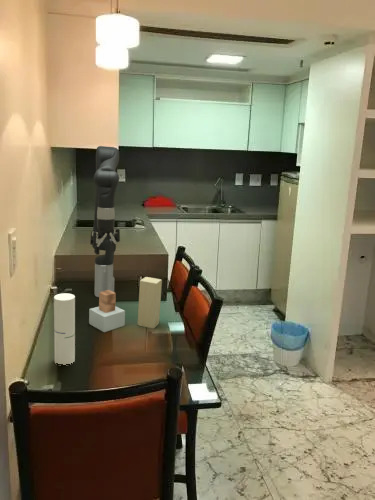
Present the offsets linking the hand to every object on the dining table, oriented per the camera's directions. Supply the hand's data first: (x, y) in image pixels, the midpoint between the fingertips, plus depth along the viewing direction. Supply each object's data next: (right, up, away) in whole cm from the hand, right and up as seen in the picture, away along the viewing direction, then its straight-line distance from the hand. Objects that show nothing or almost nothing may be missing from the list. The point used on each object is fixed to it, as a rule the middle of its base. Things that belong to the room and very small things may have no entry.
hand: (105, 252), depth 198 cm
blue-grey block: (+1, -32, -2) cm, 32 cm away
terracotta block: (+2, -25, -4) cm, 25 cm away
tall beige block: (+19, -32, +2) cm, 38 cm away
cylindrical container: (-8, -40, -35) cm, 53 cm away
